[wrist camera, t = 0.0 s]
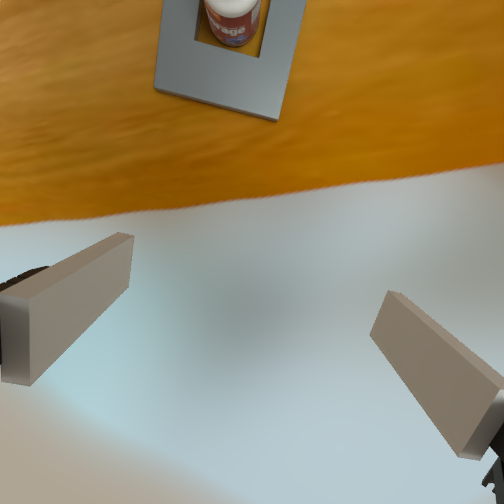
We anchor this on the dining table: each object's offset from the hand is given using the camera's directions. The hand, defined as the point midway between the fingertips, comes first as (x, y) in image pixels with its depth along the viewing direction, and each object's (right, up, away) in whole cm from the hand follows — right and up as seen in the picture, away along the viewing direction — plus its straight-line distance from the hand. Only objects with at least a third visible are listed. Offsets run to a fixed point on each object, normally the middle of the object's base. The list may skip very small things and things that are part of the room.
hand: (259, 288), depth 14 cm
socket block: (-3, +31, +20) cm, 36 cm away
